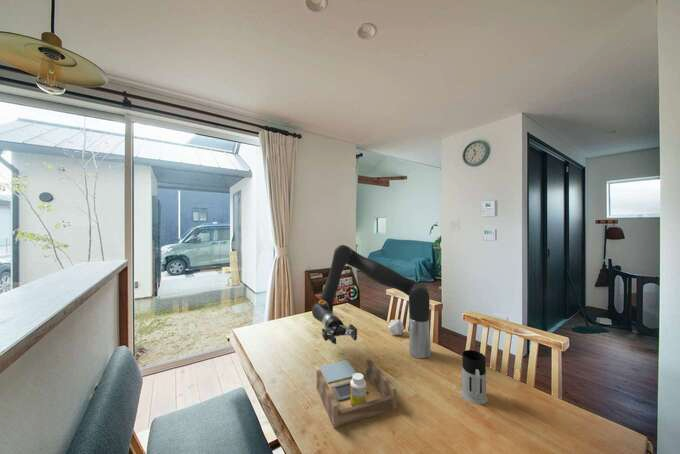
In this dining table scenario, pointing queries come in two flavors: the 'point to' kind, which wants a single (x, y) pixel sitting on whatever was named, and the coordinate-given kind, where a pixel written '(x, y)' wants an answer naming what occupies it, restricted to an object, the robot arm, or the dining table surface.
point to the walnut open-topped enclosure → (359, 410)
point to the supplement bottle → (358, 389)
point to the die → (396, 327)
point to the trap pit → (343, 391)
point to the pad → (337, 371)
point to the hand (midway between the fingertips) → (345, 339)
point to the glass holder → (474, 377)
